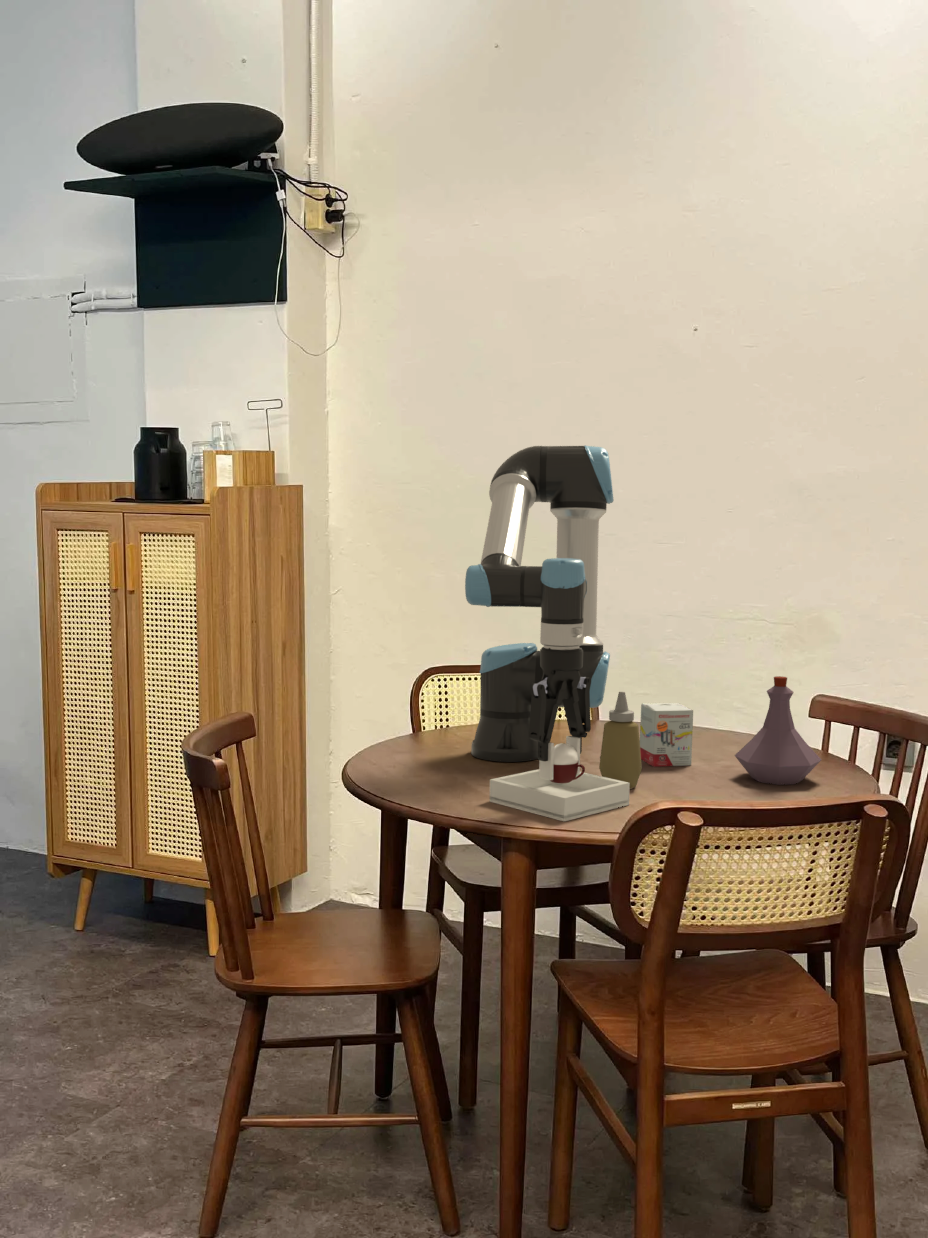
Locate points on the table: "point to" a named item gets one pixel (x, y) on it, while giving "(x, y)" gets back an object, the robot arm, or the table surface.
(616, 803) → the tray
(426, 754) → the table surface
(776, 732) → the flask
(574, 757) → the cocoa
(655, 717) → the ink box
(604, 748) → the squeeze bottle
